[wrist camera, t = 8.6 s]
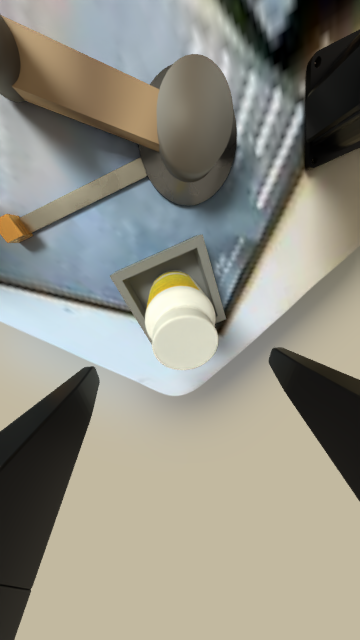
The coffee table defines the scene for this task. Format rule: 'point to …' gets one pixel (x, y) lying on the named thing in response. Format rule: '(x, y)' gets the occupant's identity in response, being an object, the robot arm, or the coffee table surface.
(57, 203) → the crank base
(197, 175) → the crank
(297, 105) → the coffee table surface
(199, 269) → the tray
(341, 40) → the robot arm
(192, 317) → the supplement bottle
